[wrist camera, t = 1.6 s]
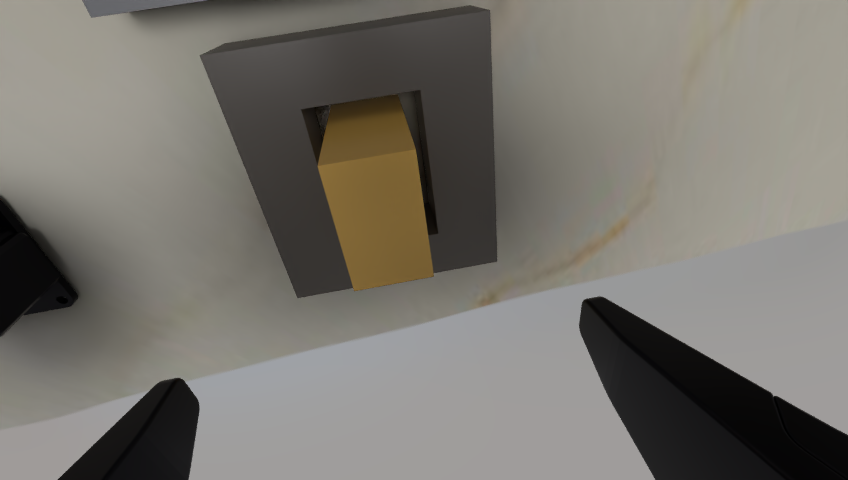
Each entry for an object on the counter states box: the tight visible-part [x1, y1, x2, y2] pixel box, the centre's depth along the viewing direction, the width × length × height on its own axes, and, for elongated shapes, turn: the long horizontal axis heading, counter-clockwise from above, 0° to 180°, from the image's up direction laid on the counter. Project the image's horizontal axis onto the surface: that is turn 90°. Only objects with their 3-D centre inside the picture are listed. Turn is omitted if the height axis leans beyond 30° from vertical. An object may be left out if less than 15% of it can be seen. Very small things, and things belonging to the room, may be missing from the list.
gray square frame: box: [200, 5, 497, 298], centre depth 18 cm, size 10×11×3 cm
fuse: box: [318, 94, 434, 291], centre depth 16 cm, size 3×5×7 cm, turn 8°
